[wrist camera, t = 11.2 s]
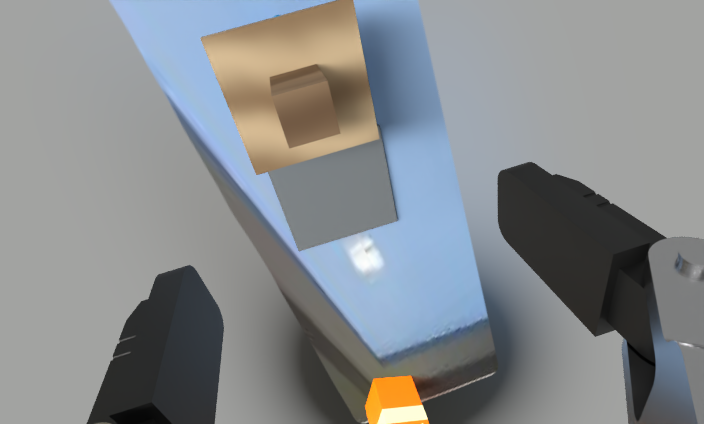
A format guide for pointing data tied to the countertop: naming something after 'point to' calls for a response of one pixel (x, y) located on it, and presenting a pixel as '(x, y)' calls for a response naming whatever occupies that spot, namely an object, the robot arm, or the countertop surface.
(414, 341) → the countertop surface
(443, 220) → the countertop surface
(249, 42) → the oak lid
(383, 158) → the rubber mat
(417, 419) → the orange juice
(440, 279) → the countertop surface
